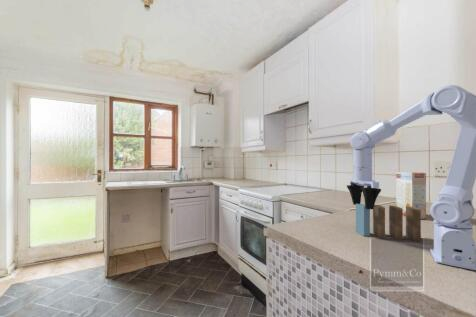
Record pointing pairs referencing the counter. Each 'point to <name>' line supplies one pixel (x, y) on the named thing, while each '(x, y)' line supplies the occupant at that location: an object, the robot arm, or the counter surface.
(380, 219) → the domino
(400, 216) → the domino
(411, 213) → the domino
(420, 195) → the cracker box
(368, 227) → the domino
